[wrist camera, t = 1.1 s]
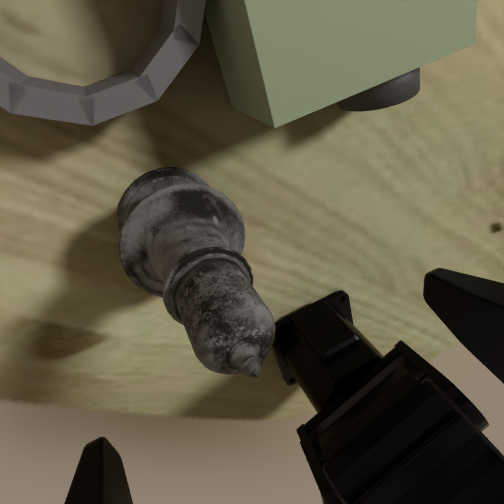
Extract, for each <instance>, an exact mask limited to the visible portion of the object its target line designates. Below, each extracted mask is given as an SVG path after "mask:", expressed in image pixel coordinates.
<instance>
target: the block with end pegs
mask: <svg viewBox="0 0 504 504" xmlns="http://www.w3.org/2000/svg"><path fill="white" fill-rule="evenodd" d="M204 13H205V17H206V20H207V24H208V27H209V30H210V34H211V37H212V41H213V44H214V47H215V51H216V54H217V58H218V61H219V64H220V68H221V71H222V75H223V78H224V82H225V85H226V88H227V92H228V95H229V99H230V102H231V105H232V108H233V109H236V110H238V111H240V112H242V113H244V114H246V115H248V116H250V117H252V118H255V119H257V120H259V121H261V122H263V123H265V124H267V125H269V126H271V127H273V128H277V127H279V126H281V125H284V124H286V123H288V122H291V121H293V120H296V119H298V118H300V117H303V116H305V115H307V114H310V113H312V112H315V111H317V110H319V109H322V108H324V107H326V106H329V105H331V104H334V103H336V102H337V103H338V107H339V108H341V109H343V110H347V111H371V110H377V109H382V108H387V107H390V106H394V105H397V104H400V103H402V102H405V101H407V100H409V99H411V98H412V97H414V96H415V95H416V94H417V93H418V92H419V90H420V67H421V66H424V65H426V64H429V63H431V62H433V61H436V60H438V59H440V58H443V57H445V56H448V55H450V54H452V53H455V52H457V51H459V50H462V49H464V48H467V47H469V46H471V45H474V44H475V32H476V15H477V0H162V8H161V17H160V26H159V31H158V32H157V34H156V35H155V36H154V38H153V39H152V40H151V42H150V43H149V45H148V46H147V47H146V49H145V50H144V51H143V53H142V54H141V56H140V57H139V58H138V60H137V61H136V62H135V64H134V65H133V67H132V68H131V69H130V70H129V71H126V72H123V73H120V74H118V75H115V76H112V77H110V78H107V79H104V80H101V81H99V82H96V83H93V84H90V85H88V86H85V87H81V86H76V85H71V84H66V83H60V82H55V81H50V80H44V79H39V78H34V77H29V76H26V75H25V74H23V73H22V72H21V71H19V70H18V69H16V68H15V67H14V66H12V65H11V64H9V63H8V62H7V61H5V60H4V59H3V58H1V57H0V107H2V108H3V109H5V110H6V111H8V112H10V113H11V114H18V115H24V116H31V117H38V118H44V119H51V120H57V121H64V122H71V123H77V124H84V125H90V126H94V125H96V124H99V123H101V122H104V121H106V120H109V119H112V118H114V117H117V116H119V115H122V114H125V113H127V112H130V111H132V110H135V109H138V108H140V107H143V106H145V105H148V104H151V103H153V102H156V101H158V99H159V98H160V97H161V95H162V94H163V93H164V91H165V90H166V89H167V87H168V86H169V85H170V83H171V82H172V81H173V79H174V78H175V77H176V75H177V74H178V73H179V71H180V70H181V69H182V67H183V66H184V65H185V63H186V62H187V61H188V59H189V58H190V57H191V55H192V54H193V53H194V51H195V50H196V49H197V47H198V46H199V45H200V44H199V43H200V37H201V30H202V23H203V16H204Z"/></svg>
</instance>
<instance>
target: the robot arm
mask: <svg viewBox="0 0 504 504" xmlns="http://www.w3.org/2000/svg"><path fill="white" fill-rule="evenodd" d="M423 296H424V299H425V301H426V303H427V304H428V305H429V307H430V308H431V309H432V310H433V311H434V312H435V314H436V315H437V316H438V317H439V318H440V319H441V320H442V322H443V323H444V324H445V325H446V326H447V327H448V328H449V330H450V331H451V332H452V333H453V334H454V335H455V337H456V338H457V339H458V340H459V341H460V342H461V343H462V344H463V345H464V346H465V347H466V348H467V349H468V350H469V351H470V352H471V353H472V354H473V355H474V356H475V357H476V358H477V359H478V360H479V361H480V362H482V364H483V365H485V366H486V367H487V368H488V369H489V370H490V371H491V372H492V373H493V374H494V375H495V376H496V377H497V378H499V380H501V381H502V382H503V383H504V283H501V282H496V281H492V280H488V279H484V278H480V277H476V276H472V275H468V274H463V273H459V272H455V271H451V270H447V269H443V268H437V269H434V270H432V271H430V272H428V273H427V274H426V275H425V277H424V290H423ZM275 328H276V330H275V338H274V341H273V344H272V348H273V350H274V353H275V356H276V359H277V362H278V364H279V367H280V370H281V373H282V375H283V378H284V381H285V382H286V384H287V385H289V386H290V385H293V384H295V383H297V382H298V384H299V385H300V387H301V388H302V390H303V391H304V393H305V394H306V396H307V397H308V399H309V401H310V402H311V404H312V405H313V407H314V408H315V410H316V411H317V414H316V415H315V416H314V417H313V418H312V419H310V420H309V421H308V422H307V423H306V424H305V425H304V424H302V425H301V426H300V427H299V428H298V429H297V433H298V435H299V438H300V440H301V441H300V444H301V447H302V449H303V451H304V454H305V456H306V459H307V461H308V463H309V466H310V468H311V471H312V473H313V475H314V478H315V480H316V483H317V485H318V487H319V490H320V493H321V497H322V501H323V504H504V456H503V455H502V454H501V452H499V450H498V449H497V448H496V447H495V446H494V445H493V444H492V443H491V442H490V441H489V440H488V438H487V437H485V435H484V434H483V433H482V431H483V430H484V429H485V428H487V427H488V426H489V423H488V422H487V420H486V419H485V417H484V416H483V415H482V413H481V412H480V411H479V410H478V409H477V408H476V407H475V405H474V404H473V403H472V402H471V401H470V400H469V399H468V398H467V397H466V396H465V395H464V394H463V393H462V392H461V391H460V390H459V389H458V388H457V387H456V386H455V385H454V384H453V383H452V382H451V381H449V379H447V378H446V377H445V376H444V375H443V374H441V373H440V372H439V371H438V370H437V369H435V368H434V367H433V366H432V365H430V364H429V363H428V362H427V361H426V360H425V359H423V358H422V357H421V356H420V355H418V354H417V353H416V352H415V351H414V350H412V349H411V348H410V347H409V346H407V345H406V344H405V343H404V342H403V341H401V340H400V341H399V342H398V343H397V344H396V345H394V346H395V347H394V348H393V349H392V350H391V351H390V352H389V353H387V354H386V355H385V356H383V355H382V354H381V353H380V352H379V351H378V350H377V349H376V348H375V347H374V346H373V345H372V344H371V343H370V342H369V341H368V340H367V339H366V338H365V337H364V336H363V335H362V334H361V332H360V331H359V330H358V329H357V328H356V327H355V326H354V325H353V319H352V314H351V308H350V302H349V296H348V294H347V293H346V292H345V291H343V290H341V291H338V292H336V293H334V294H332V295H330V296H328V297H326V298H325V299H323V300H321V301H319V302H317V303H315V304H313V305H311V306H309V307H307V308H305V309H303V310H301V311H300V312H298V313H296V314H294V315H292V316H290V317H288V318H286V319H284V320H282V321H280V322H278V323H277V324H275ZM64 504H133V502H132V498H131V494H130V490H129V486H128V482H127V478H126V474H125V470H124V466H123V463H122V459H121V457H120V455H119V453H118V452H117V451H116V449H115V448H114V447H113V446H112V445H111V444H110V442H109V441H108V440H107V439H106V438H105V437H99V438H97V439H96V440H93V441H91V442H90V443H88V444H86V446H85V447H84V449H83V452H82V455H81V458H80V461H79V463H78V466H77V469H76V472H75V475H74V478H73V481H72V483H71V486H70V489H69V492H68V495H67V498H66V501H65V503H64Z"/></svg>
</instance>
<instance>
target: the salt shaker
mask: <svg viewBox="0 0 504 504" xmlns="http://www.w3.org/2000/svg"><path fill="white" fill-rule="evenodd" d="M118 220H119V228H120V230H121V235H120V240H119V253H120V261H121V263H122V265H123V267H124V270H125V272H126V274H127V275H128V277H129V278H130V279H131V280H132V281H133V282H134V283H135V284H136V285H137V286H138V287H140V288H141V289H143V290H145V291H146V292H148V293H149V294H153V295H156V296H160V297H163V302H164V304H165V307H166V309H167V312H168V313H169V314H170V315H171V316H172V318H173V319H174V320H176V321H177V322H179V323H181V324H182V325H184V327H185V329H186V332H187V334H188V337H189V340H190V342H191V345H192V347H193V350H194V352H195V355H196V357H197V358H198V359H199V361H200V362H201V363H202V364H203V365H204V366H205V367H206V368H208V369H209V370H211V371H213V372H217V373H221V374H226V375H231V374H239V373H243V375H248V376H251V377H258V376H259V372H260V371H261V367H262V360H263V359H264V358H265V357H266V356H267V354H268V353H269V351H270V349H271V347H272V344H273V341H274V338H275V330H276V328H275V323H274V319H273V316H272V314H271V312H270V310H269V309H268V307H267V306H266V304H265V303H264V302H263V300H262V299H261V297H260V296H259V295H258V293H257V292H256V290H255V289H254V288H253V275H252V270H251V267H250V266H249V264H248V262H247V261H246V259H245V258H244V257H242V256H241V253H242V250H243V247H244V242H245V228H244V223H243V219H242V216H241V214H240V212H239V211H238V209H237V207H236V205H235V204H234V203H233V202H232V201H231V200H230V199H229V198H228V197H227V196H226V195H225V194H224V193H222V192H220V191H218V190H216V189H214V188H212V187H210V186H209V185H208V184H207V183H206V182H205V181H204V180H203V179H202V178H201V177H200V176H199V175H197V174H195V173H193V172H191V171H189V170H186V169H181V168H176V167H168V168H159V169H156V170H153V171H149V172H147V173H145V174H144V175H142V176H141V177H139V178H137V179H136V180H135V181H134V182H133V183H132V184H131V185H130V186H129V187H128V188H127V190H126V191H125V193H124V195H123V197H122V199H121V201H120V206H119V211H118Z"/></svg>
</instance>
